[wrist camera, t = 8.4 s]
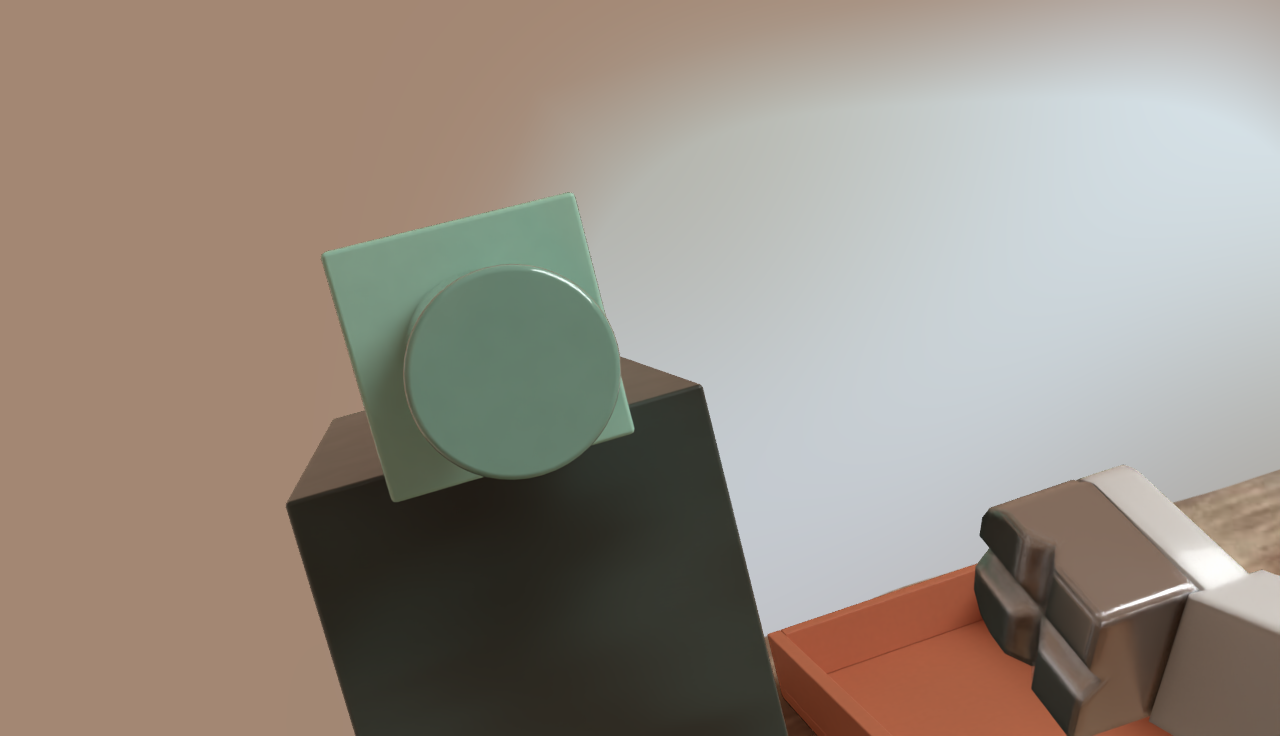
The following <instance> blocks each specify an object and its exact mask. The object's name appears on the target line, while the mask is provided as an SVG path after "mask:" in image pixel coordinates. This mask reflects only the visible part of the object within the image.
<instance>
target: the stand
mask: <svg viewBox="0 0 1280 736" xmlns="http://www.w3.org/2000/svg"><path fill="white" fill-rule="evenodd" d="M620 362H621V377H622V381H623V385H624V388H625V392H626V396H627V400H628V404H629V408H630V412H631V416H632V420H633V424H634V427H635V429H634V432H633V433H632V434H631V435H628V436H624V437H621V438H617V439H614V440H610V441H607V442H604V443H600V444H597V445H593V446H591V447H590V448H589V449H587V450H586V451H585V452H584V453H583V454H582V455H581V456H580V457H578V458H577V459H575V460H574V461H573V462H571V463H570V464H568V465H566V466H564V467H562V468H561V469H559V470H557V471H554V472H552V473H549V474H546V475H544V476H540V477H535V478H531V479H524V480H498V479H492V478H486V477H484V478H480V479H477V480H473V481H470V482H467V483H463V484H460V485H456V486H453V487H449V488H446V489H443V490H439V491H436V492H432V493H429V494H425V495H422V496H419V497H415V498H412V499H408V500H405V501H401V502H398V503H397V502H393V501H392V500H391V498H390V495H389V492H388V488H387V485H386V481H385V478H384V474H383V471H382V467H381V464H380V461H379V457H378V454H377V450H376V447H375V443H374V440H373V436H372V433H371V430H370V426H369V423H368V419H367V416H366V412H365V411H361V412H358V413H354V414H350V415H347V416H343V417H340V418H336V419H334V420H333V421H332V422H331V424H330V426H329V428H328V430H327V431H326V433H325V435H324V437H323V439H322V440H321V442H320V444H319V446H318V448H317V449H316V451H315V453H314V455H313V457H312V458H311V460H310V462H309V464H308V466H307V467H306V469H305V471H304V473H303V475H302V476H301V478H300V480H299V482H298V483H297V485H296V487H295V489H294V491H293V493H292V494H291V496H290V498H289V500H288V501H287V503H286V509H287V512H288V515H289V519H290V522H291V525H292V529H293V532H294V535H295V538H296V541H297V545H298V548H299V552H300V555H301V558H302V561H303V564H304V568H305V571H306V575H307V578H308V581H309V584H310V588H311V591H312V594H313V598H314V601H315V604H316V607H317V610H318V614H319V617H320V621H321V624H322V627H323V630H324V634H325V637H326V640H327V644H328V647H329V650H330V653H331V657H332V660H333V663H334V667H335V670H336V673H337V676H338V680H339V683H340V686H341V690H342V693H343V696H344V699H345V703H346V706H347V709H348V712H349V716H350V719H351V722H352V726H353V729H354V732H355V735H356V736H788V732H787V728H786V724H785V720H784V715H783V711H782V707H781V703H780V699H779V695H778V691H777V687H776V683H775V679H774V675H773V671H772V667H771V663H770V659H769V655H768V651H767V646H766V642H765V638H764V634H763V631H762V626H761V622H760V618H759V614H758V610H757V606H756V602H755V598H754V594H753V590H752V586H751V581H750V577H749V573H748V569H747V565H746V561H745V557H744V553H743V549H742V545H741V541H740V537H739V533H738V529H737V525H736V521H735V517H734V512H733V508H732V504H731V501H730V496H729V492H728V488H727V484H726V480H725V476H724V472H723V468H722V464H721V460H720V456H719V452H718V448H717V443H716V440H715V435H714V431H713V428H712V423H711V419H710V415H709V411H708V407H707V403H706V399H705V395H704V391H703V387H702V386H701V385H700V384H697V383H694V382H692V381H689V380H686V379H683V378H680V377H677V376H674V375H671V374H669V373H666V372H663V371H660V370H657V369H654V368H652V367H648V366H646V365H643V364H640V363H637V362H634V361H631V360H628V359H626V358H622V357H620Z"/></svg>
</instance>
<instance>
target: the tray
mask: <svg viewBox="0 0 1280 736" xmlns="http://www.w3.org/2000/svg"><path fill="white" fill-rule="evenodd" d="M976 565H977V564H975V565H972V566H969V567H966V568H963V569H960V570H957V571H954V572H951V573H948V574H945V575H942V576H939V577H936V578H933V579H930V580H927V581H924V582H921V583H918V584H915V585H912V586H909V587H906V588H903V589H900V590H897V591H894V592H891V593H889V594H886V595H883V596H880V597H877V598H874V599H871V600H868V601H865V602H862V603H859V604H856V605H853V606H850V607H847V608H844V609H841V610H838V611H835V612H832V613H829V614H826V615H823V616H821V617H817V618H814V619H811V620H808V621H805V622H802V623H799V624H797V625H794V626H791V627H788V628H785V629H782V630H781V631H776V632H773V633H770V634H768V640H769V644H770V648H771V652H772V656H773V660H774V664H775V668H776V672H777V676H778V680H779V684H780V688H781V693H782V697H783V698H784V699H785V700H786V701H787V702H788V703H789V704H790V706H791V707H792V708H793V709H794V710H795V711H796V712H797V713H798V714H799V716H800V717H801V718H802V719H803V720H804V721H805V722H806V723H807V724H808V725H809V727H810V728H811V729H812V730H813V731H814V732H815V733H816V734H817V735H818V736H1067V735H1066V734H1065V733H1064V731H1063V730H1062V729H1061V727H1060V726H1059V725H1058V724H1057V722H1056V721H1055V720H1054V718H1053V717H1052V716H1051V714H1050V713H1049V712H1048V710H1047V709H1046V708H1045V706H1044V705H1043V704H1042V703H1041V701H1040V700H1039V699H1038V697H1037V696H1036V695H1035V693H1034V692H1033V691H1032V689H1031V667H1032V666H1030V665H1028V664H1026V663H1024V662H1021V661H1019V660H1017V659H1015V658H1013V657H1011V656H1009V655H1007V654H1005V653H1004V652H1003V651H1002V649H1001V648H1000V646H999V645H998V644H997V642H996V641H995V640H994V638H993V637H992V635H991V634H990V632H989V630H988V628H987V626H986V624H985V623H984V621H983V619H982V617H981V615H980V611H979V607H978V604H977V600H976V596H975V592H974V579H975V566H976ZM1149 719H1150V716H1149V717H1146V718H1143V719H1140V720H1137V721H1134V722H1131V723H1128V724H1126V725H1123V726H1120V727H1117V728H1114V729H1111V730H1108V731H1105V732H1102V733H1099V734H1096V735H1093V736H1173V735H1171V734H1170V733H1168V732H1166V731H1165V730H1163V729H1161V728H1159V727H1158V726H1156V725H1154V724H1153V723H1151V722H1149Z"/></svg>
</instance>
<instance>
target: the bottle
mask: <svg viewBox="0 0 1280 736" xmlns="http://www.w3.org/2000/svg"><path fill="white" fill-rule="evenodd" d="M321 261H322V264H323V268H324V271H325V275H326V278H327V282H328V285H329V288H330V292H331V295H332V299H333V302H334V306H335V309H336V313H337V316H338V319H339V323H340V326H341V329H342V333H343V337H344V340H345V343H346V347H347V350H348V354H349V357H350V361H351V364H352V367H353V371H354V374H355V377H356V381H357V385H358V388H359V391H360V395H361V398H362V402H363V405H364V409H365V412H366V416H367V419H368V423H369V426H370V430H371V433H372V436H373V440H374V443H375V447H376V450H377V454H378V457H379V461H380V464H381V467H382V471H383V474H384V478H385V481H386V485H387V488H388V492H389V495H390V498H391V500H392V501H393V502H397V503H398V502H401V501H405V500H408V499H412V498H415V497H419V496H422V495H425V494H429V493H432V492H436V491H439V490H443V489H446V488H449V487H453V486H456V485H460V484H463V483H467V482H470V481H473V480H477V479H480V478H484V477H486V478H492V479H498V480H524V479H531V478H535V477H540V476H544V475H546V474H549V473H552V472H554V471H557V470H559V469H561V468H562V467H564V466H566V465H568V464H570V463H571V462H573V461H574V460H575V459H577V458H578V457H580V456H581V455H582V454H583V453H584V452H585V451H586V450H587V449H589V448H590V447H591V446H593V445H597V444H600V443H604V442H607V441H610V440H614V439H617V438H621V437H624V436H628V435H631V434H632V433H633V432H634V429H635V427H634V424H633V420H632V416H631V412H630V408H629V404H628V400H627V396H626V392H625V388H624V385H623V381H622V377H621V362H620V354H619V349H618V344H617V341H616V338H615V335H614V332H613V330H612V328H611V325H610V323H609V321H608V319H607V317H606V314H605V310H604V307H603V303H602V299H601V295H600V291H599V287H598V283H597V279H596V275H595V271H594V267H593V264H592V260H591V256H590V252H589V248H588V244H587V241H586V237H585V232H584V229H583V225H582V221H581V217H580V213H579V209H578V205H577V201H576V197H575V195H574V194H573V193H570V192H567V193H563V194H559V195H556V196H551V197H547V198H543V199H539V200H535V201H531V202H527V203H523V204H519V205H514V206H511V207H506V208H502V209H498V210H494V211H490V212H486V213H482V214H478V215H473V216H469V217H465V218H462V219H457V220H453V221H449V222H445V223H441V224H437V225H433V226H428V227H425V228H420V229H416V230H412V231H408V232H404V233H400V234H396V235H392V236H388V237H384V238H379V239H376V240H371V241H367V242H363V243H359V244H355V245H351V246H347V247H343V248H339V249H334V250H330V251H326V252H324V253H323V254H322V255H321Z"/></svg>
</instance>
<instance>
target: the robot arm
mask: <svg viewBox="0 0 1280 736" xmlns="http://www.w3.org/2000/svg"><path fill="white" fill-rule="evenodd" d="M980 537H981V538H982V539H983V540H984V542H985V543H986V544H987V545H988V547H989V549H988V551H987V552H986V553H985V555H984V556H983V557H982V559H981V560H980V561H979V562H978V564H977V565H976V566H975V579H974V592H975V596H976V600H977V604H978V607H979V611H980V615H981V617H982V619H983V621H984V623H985V624H986V626H987V628H988V630H989V632H990V634H991V635H992V637H993V638H994V640H995V641H996V642H997V644H998V645H999V646H1000V648H1001V649H1002V651H1003V652H1004V653H1005V654H1007V655H1009V656H1011V657H1013V658H1015V659H1017V660H1019V661H1021V662H1024V663H1026V664H1028V665H1030V666H1032V667H1031V689H1032V691H1033V692H1034V693H1035V695H1036V696H1037V697H1038V699H1039V700H1040V701H1041V703H1042V704H1043V705H1044V706H1045V708H1046V709H1047V710H1048V712H1049V713H1050V714H1051V716H1052V717H1053V718H1054V720H1055V721H1056V722H1057V724H1058V725H1059V726H1060V727H1061V729H1062V730H1063V731H1064V733H1065V734H1066V735H1067V736H1093V735H1096V734H1099V733H1102V732H1105V731H1108V730H1111V729H1114V728H1117V727H1120V726H1123V725H1126V724H1128V723H1131V722H1134V721H1137V720H1140V719H1143V718H1146V717H1149V716H1150V719H1149V722H1151V723H1153V724H1154V725H1156V726H1158V727H1159V728H1161V729H1163V730H1165V731H1166V732H1168V733H1170V734H1171V735H1173V736H1280V576H1278V575H1275V574H1273V573H1270V572H1267V571H1265V570H1259V571H1255V572H1252V573H1248V572H1247V571H1246V570H1244V569H1243V568H1242V567H1241V566H1240V565H1239V564H1238V563H1237V562H1236V561H1235V560H1234V559H1233V558H1231V557H1230V556H1229V555H1228V554H1227V553H1226V552H1225V551H1224V550H1223V549H1222V548H1221V547H1220V546H1219V545H1217V544H1216V543H1215V542H1214V541H1213V540H1212V539H1211V538H1210V537H1209V536H1208V535H1207V534H1206V533H1205V532H1203V531H1202V530H1201V529H1200V528H1199V527H1198V526H1197V525H1196V524H1195V523H1194V522H1193V521H1192V520H1190V519H1189V518H1188V517H1187V516H1186V515H1185V514H1184V513H1183V512H1182V511H1181V510H1180V509H1179V508H1178V507H1176V506H1175V505H1174V504H1173V503H1172V502H1171V501H1170V500H1169V499H1168V498H1167V497H1166V496H1165V495H1163V494H1162V493H1161V492H1160V491H1159V490H1158V489H1157V488H1156V487H1155V486H1154V485H1152V484H1151V483H1150V482H1149V481H1148V480H1147V479H1146V478H1145V477H1144V476H1143V475H1142V474H1141V473H1140V472H1138V471H1137V470H1135V469H1133V468H1131V467H1128V466H1126V465H1121V466H1118V467H1114V468H1111V469H1108V470H1105V471H1102V472H1099V473H1096V474H1093V475H1090V476H1087V477H1083V478H1080V479H1078V480H1076V481H1075V480H1070V481H1067V482H1065V483H1062V484H1059V485H1056V486H1053V487H1050V488H1047V489H1044V490H1041V491H1038V492H1035V493H1032V494H1030V495H1026V496H1023V497H1020V498H1017V499H1015V500H1012V501H1009V502H1006V503H1003V504H1000V505H997V506H994V507H991V508H990V509H989V510H988V511H987V512H986V514H985V515H984V516H983V517H982V523H981V530H980Z"/></svg>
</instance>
